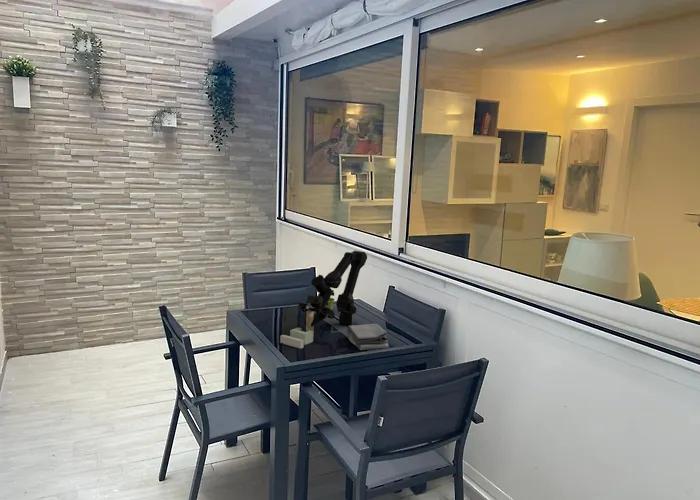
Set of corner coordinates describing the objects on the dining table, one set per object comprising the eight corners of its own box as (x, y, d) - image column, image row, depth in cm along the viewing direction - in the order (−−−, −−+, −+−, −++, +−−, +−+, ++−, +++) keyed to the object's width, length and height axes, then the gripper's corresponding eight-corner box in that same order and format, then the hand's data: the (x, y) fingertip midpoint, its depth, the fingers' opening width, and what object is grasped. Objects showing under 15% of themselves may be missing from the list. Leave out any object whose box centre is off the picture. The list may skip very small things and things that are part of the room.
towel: (375, 336, 244) (376, 320, 243) (389, 349, 227) (390, 332, 225) (345, 338, 239) (345, 322, 238) (357, 351, 222) (358, 334, 221)
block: (298, 337, 237) (298, 327, 236) (312, 341, 232) (313, 331, 231) (290, 340, 233) (290, 330, 232) (305, 344, 228) (305, 334, 227)
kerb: (283, 342, 231) (283, 334, 231) (303, 347, 224) (303, 340, 224) (280, 343, 230) (280, 335, 229) (300, 348, 223) (300, 341, 222)
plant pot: (315, 315, 275) (315, 300, 273) (320, 311, 283) (321, 296, 282) (331, 317, 272) (331, 302, 271) (336, 313, 281) (337, 298, 280)
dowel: (314, 337, 239) (314, 310, 237) (312, 339, 235) (313, 312, 233) (307, 336, 239) (307, 310, 237) (305, 339, 236) (305, 312, 234)
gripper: (300, 285, 242) (285, 312, 235) (331, 291, 232) (316, 320, 224) (310, 298, 250) (295, 325, 243) (341, 304, 239) (326, 332, 232)
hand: (308, 325), depth 235 cm, fingers closed on dowel, 4 cm apart
